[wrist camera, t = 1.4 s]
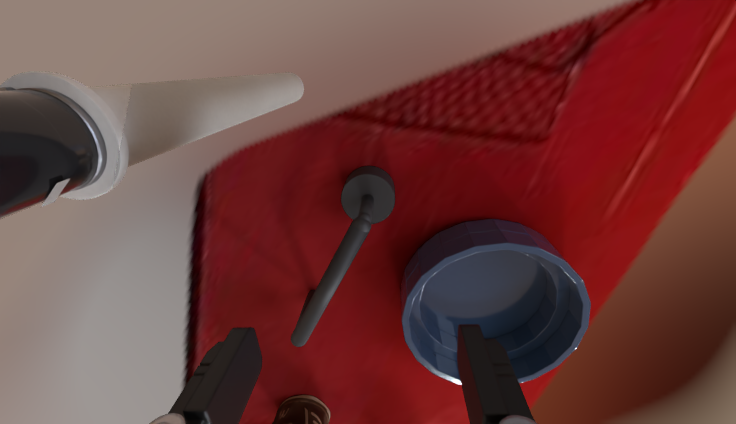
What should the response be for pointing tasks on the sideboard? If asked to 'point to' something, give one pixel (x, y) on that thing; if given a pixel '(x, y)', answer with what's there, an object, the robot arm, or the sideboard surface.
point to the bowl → (493, 297)
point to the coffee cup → (302, 411)
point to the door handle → (348, 239)
